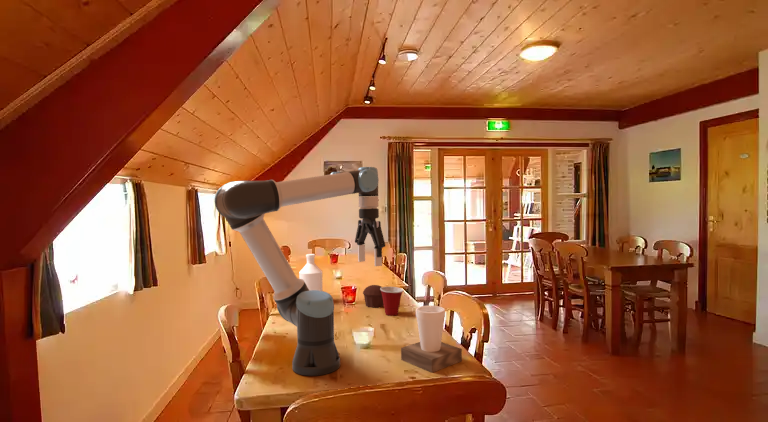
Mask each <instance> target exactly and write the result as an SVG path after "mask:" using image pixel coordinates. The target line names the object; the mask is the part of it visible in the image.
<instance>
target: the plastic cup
mask: <svg viewBox="0 0 768 422" xmlns="http://www.w3.org/2000/svg"><path fill="white" fill-rule="evenodd" d="M380 290H381V293H382V298H383V304H384V305H383V308H384V314H385V315H386V316H390V317H394V316H398V315H399V309H400V304H401V299H402V294H403V292H404V289H403V288H401V287H397V286H381V288H380Z"/></svg>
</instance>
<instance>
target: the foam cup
mask: <svg viewBox="0 0 768 422" xmlns="http://www.w3.org/2000/svg"><path fill="white" fill-rule="evenodd" d="M415 318H416V322H417V330H418V334H419V335H418V336H419V342H420V345H421V349H422V350H424V351H427V352H435V351H439V350H440V347H441V342H442V340H443V339H442V338H443V330H444V322H445V318H446V310H445V308H444V307H442V306H438V305H421V306H418V307H416V308H415Z"/></svg>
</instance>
